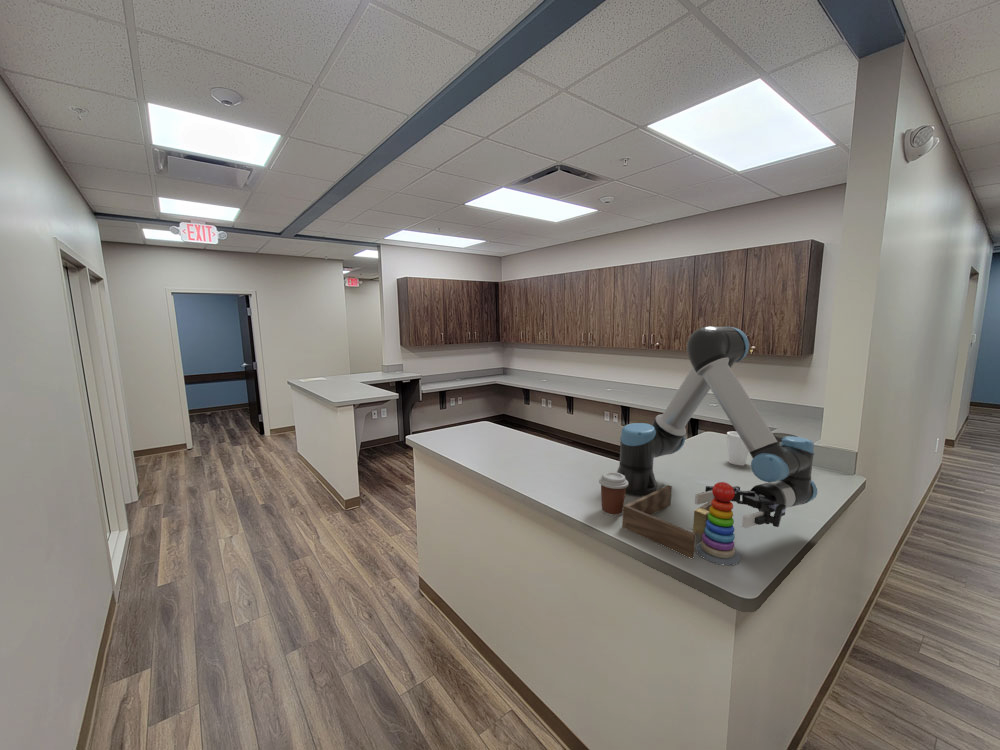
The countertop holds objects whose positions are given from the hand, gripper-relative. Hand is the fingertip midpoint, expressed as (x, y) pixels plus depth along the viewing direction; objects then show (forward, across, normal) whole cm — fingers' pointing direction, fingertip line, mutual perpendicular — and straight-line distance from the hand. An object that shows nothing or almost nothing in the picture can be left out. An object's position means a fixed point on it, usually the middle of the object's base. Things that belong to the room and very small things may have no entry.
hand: (718, 510), depth 102 cm
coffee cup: (+9, +30, -13) cm, 34 cm away
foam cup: (-74, +46, -13) cm, 88 cm away
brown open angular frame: (-3, +14, -12) cm, 19 cm away
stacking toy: (-2, +1, -12) cm, 12 cm away
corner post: (-7, +10, -12) cm, 17 cm away
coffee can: (-86, +35, -13) cm, 94 cm away
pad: (-1, 0, -12) cm, 13 cm away
